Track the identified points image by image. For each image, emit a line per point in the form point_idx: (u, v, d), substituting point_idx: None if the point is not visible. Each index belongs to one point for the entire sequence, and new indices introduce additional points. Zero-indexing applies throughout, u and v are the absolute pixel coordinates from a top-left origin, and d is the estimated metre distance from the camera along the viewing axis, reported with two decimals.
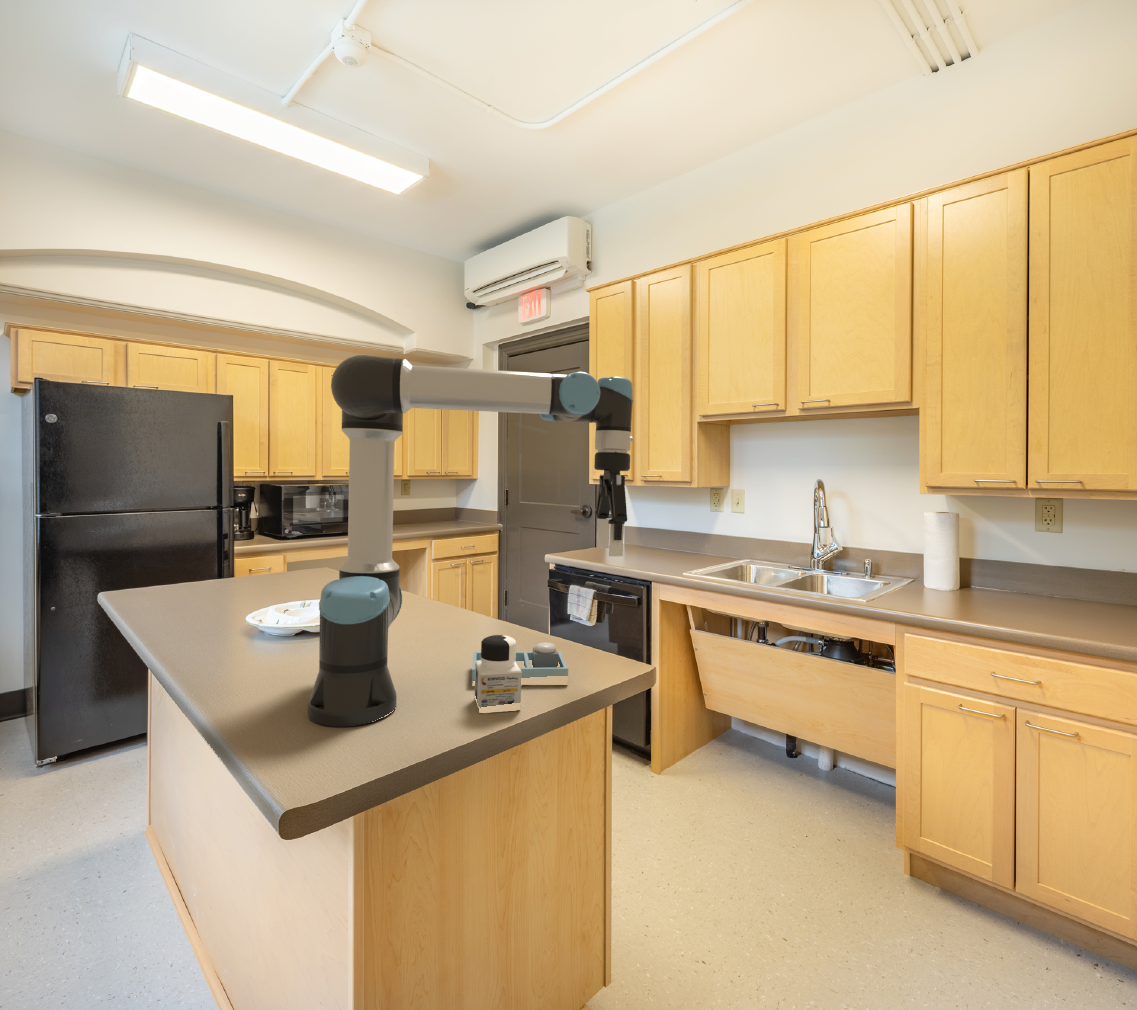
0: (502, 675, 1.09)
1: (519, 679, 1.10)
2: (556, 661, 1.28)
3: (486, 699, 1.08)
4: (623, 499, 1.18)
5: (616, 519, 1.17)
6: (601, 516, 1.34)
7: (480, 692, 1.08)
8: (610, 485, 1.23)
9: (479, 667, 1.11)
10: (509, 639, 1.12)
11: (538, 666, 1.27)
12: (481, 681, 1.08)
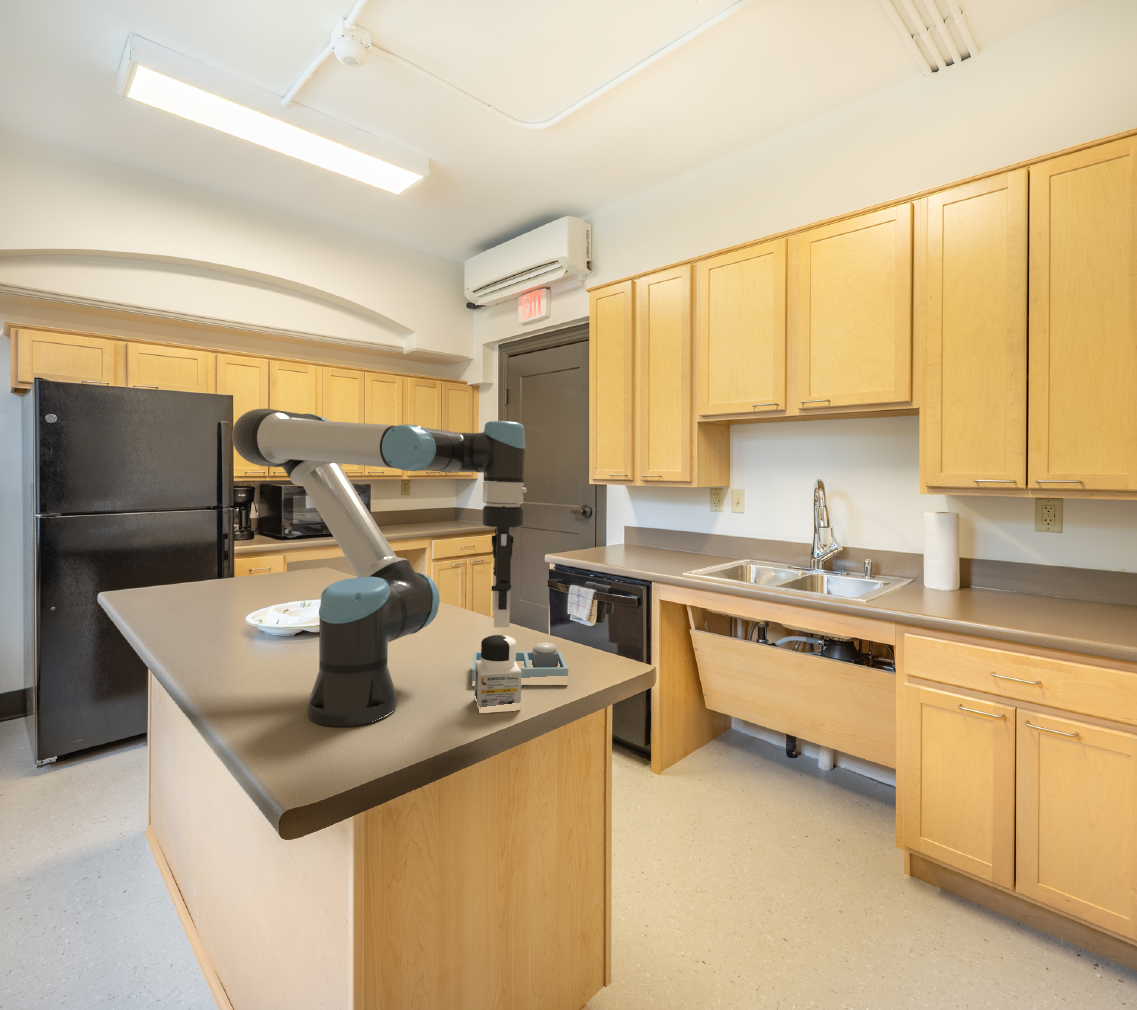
0: (502, 675, 1.09)
1: (519, 679, 1.10)
2: (556, 661, 1.28)
3: (486, 699, 1.08)
4: (507, 563, 1.03)
5: (498, 587, 1.02)
6: None
7: (480, 692, 1.08)
8: None
9: (479, 667, 1.11)
10: (509, 639, 1.12)
11: (538, 666, 1.27)
12: (481, 681, 1.08)
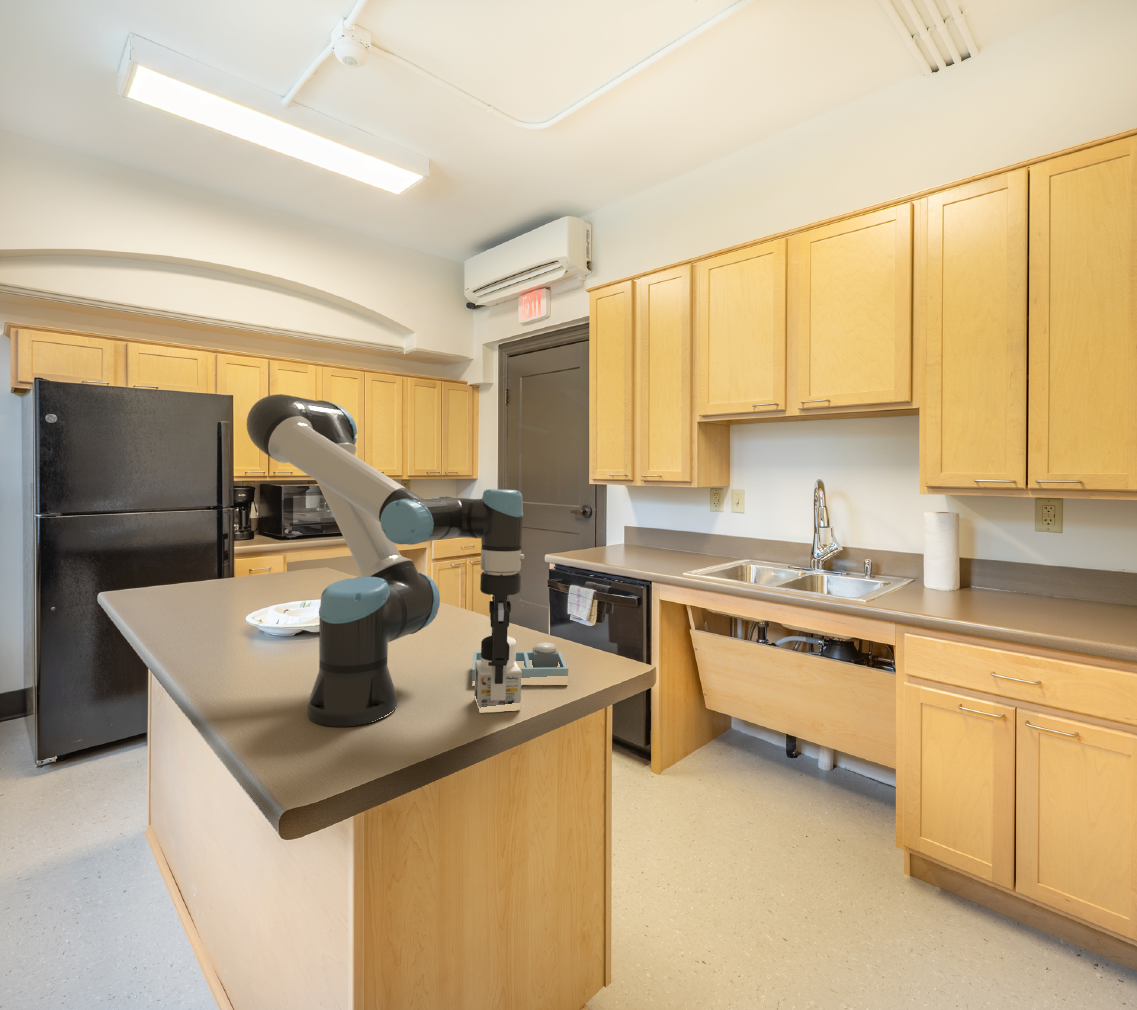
0: None
1: (519, 679, 1.10)
2: (556, 661, 1.28)
3: (486, 699, 1.08)
4: (504, 639, 1.05)
5: (494, 664, 1.05)
6: None
7: (480, 692, 1.08)
8: None
9: (479, 667, 1.11)
10: (509, 638, 1.12)
11: (538, 666, 1.27)
12: (481, 681, 1.08)
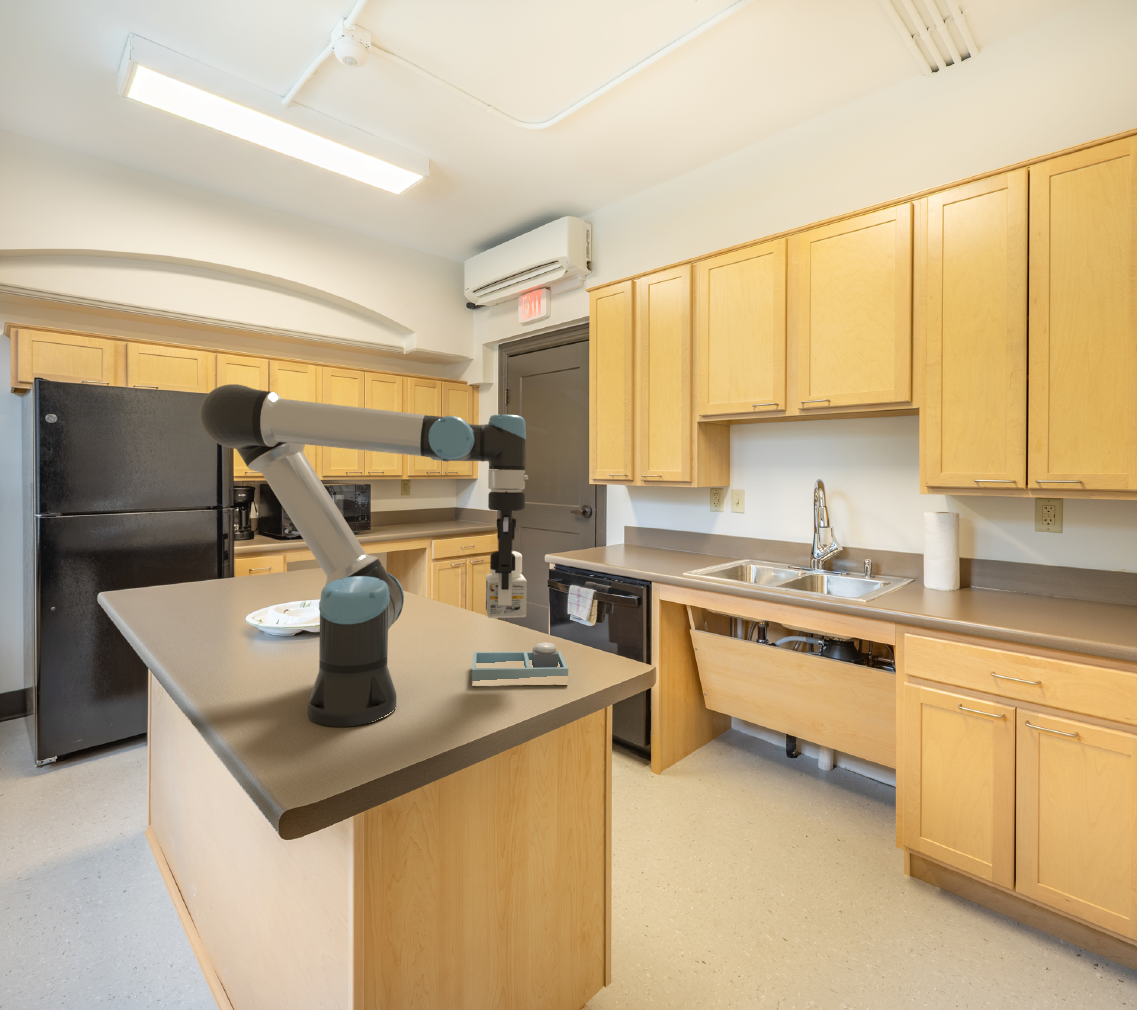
0: None
1: (524, 587, 1.20)
2: (556, 661, 1.28)
3: (494, 604, 1.19)
4: (509, 548, 1.16)
5: (500, 570, 1.16)
6: None
7: (489, 598, 1.19)
8: None
9: (488, 577, 1.22)
10: (516, 552, 1.23)
11: (538, 666, 1.27)
12: (490, 588, 1.19)
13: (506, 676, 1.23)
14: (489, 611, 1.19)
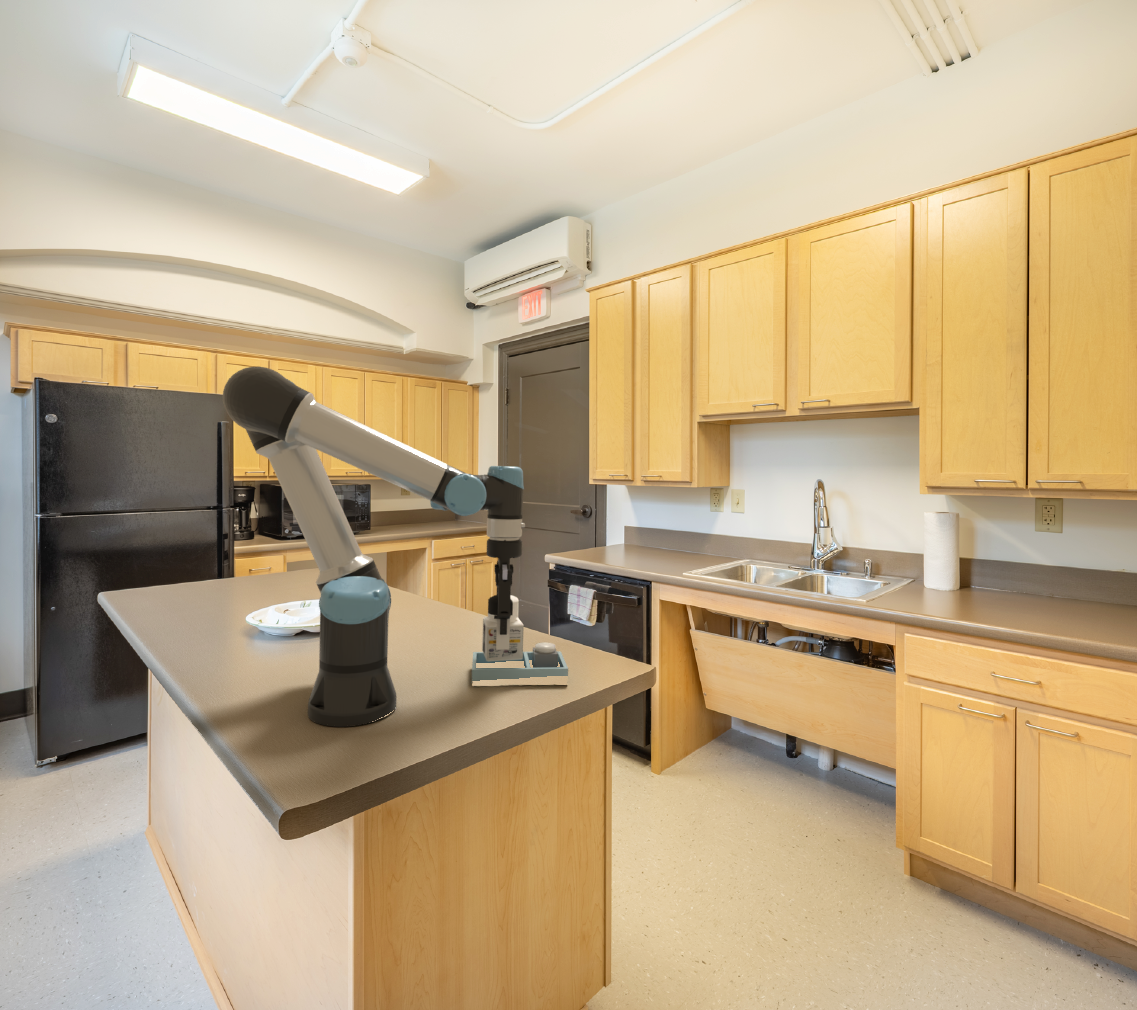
0: None
1: (521, 631, 1.26)
2: (556, 661, 1.28)
3: (492, 648, 1.24)
4: (508, 595, 1.21)
5: (499, 617, 1.20)
6: None
7: (487, 642, 1.24)
8: None
9: (486, 621, 1.27)
10: (513, 597, 1.28)
11: (538, 666, 1.27)
12: (488, 632, 1.24)
13: (506, 676, 1.23)
14: (487, 655, 1.24)
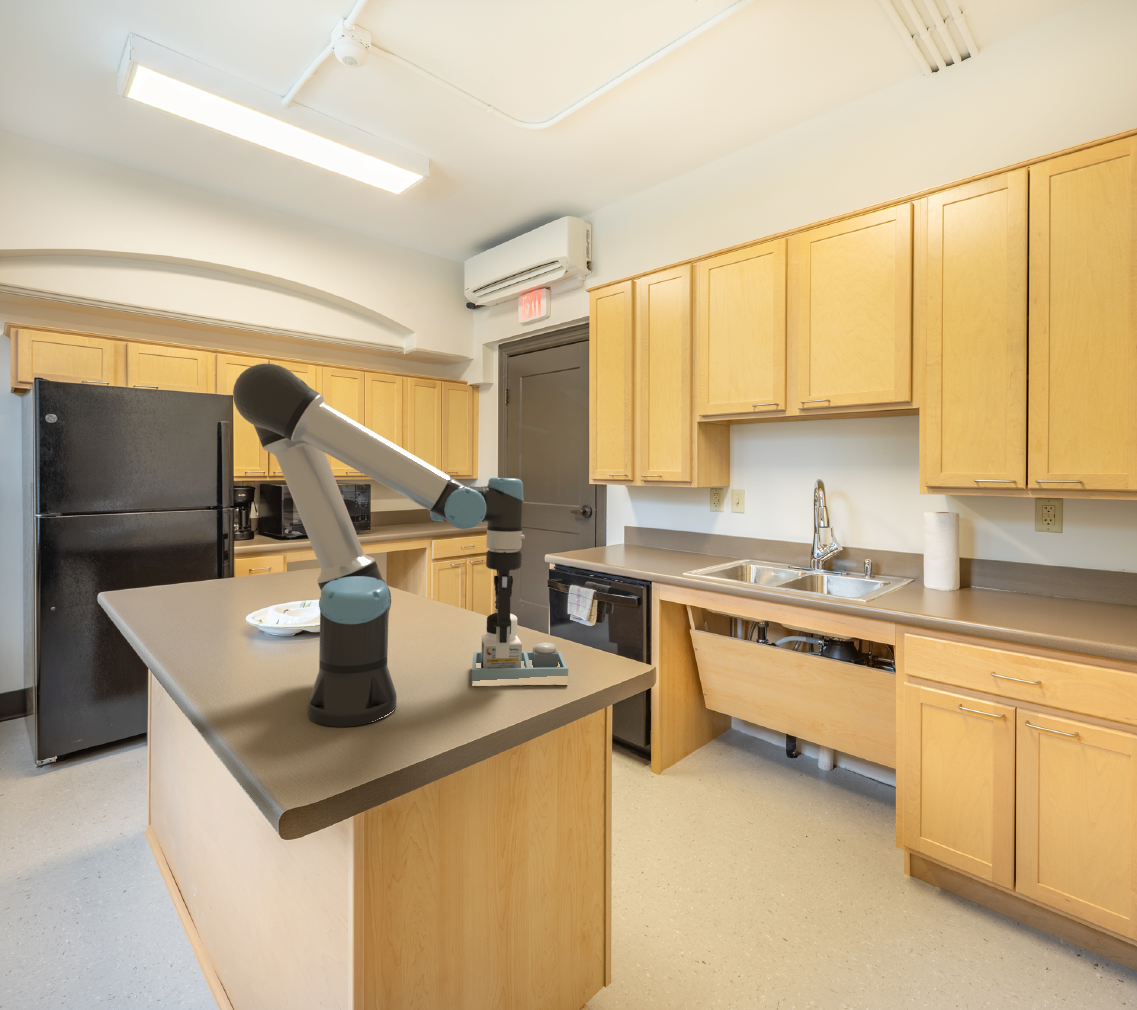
0: None
1: (520, 650, 1.26)
2: (556, 661, 1.28)
3: (491, 667, 1.24)
4: (508, 603, 1.20)
5: (499, 624, 1.18)
6: None
7: (485, 661, 1.24)
8: None
9: (485, 640, 1.27)
10: (511, 615, 1.28)
11: (538, 666, 1.27)
12: (486, 651, 1.24)
13: (506, 676, 1.23)
14: None
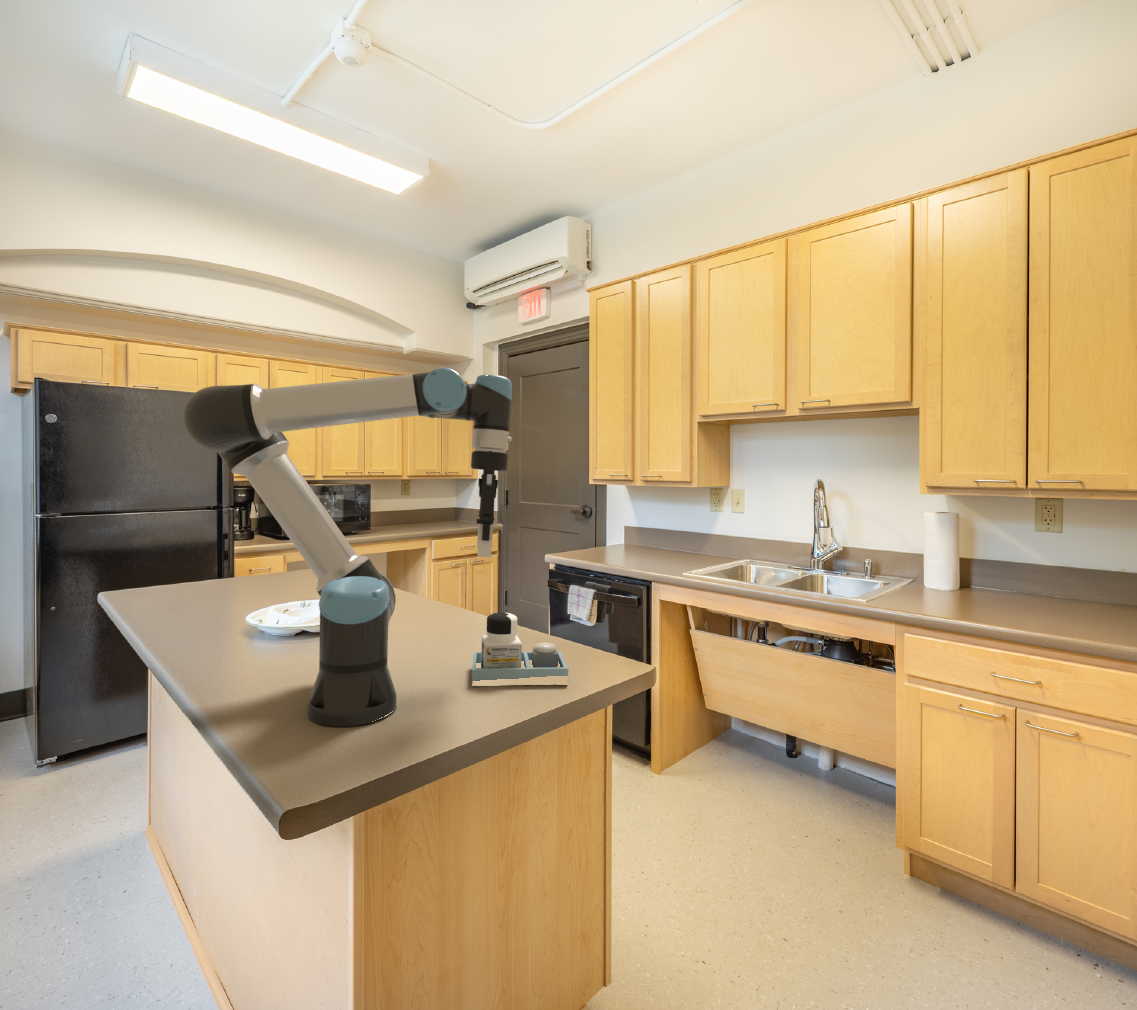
0: (505, 646, 1.25)
1: (520, 650, 1.26)
2: (556, 661, 1.28)
3: (491, 667, 1.24)
4: (492, 499, 1.16)
5: (482, 519, 1.15)
6: None
7: (485, 661, 1.24)
8: None
9: (485, 640, 1.27)
10: (511, 615, 1.28)
11: (538, 666, 1.27)
12: (486, 651, 1.24)
13: (506, 676, 1.23)
14: None
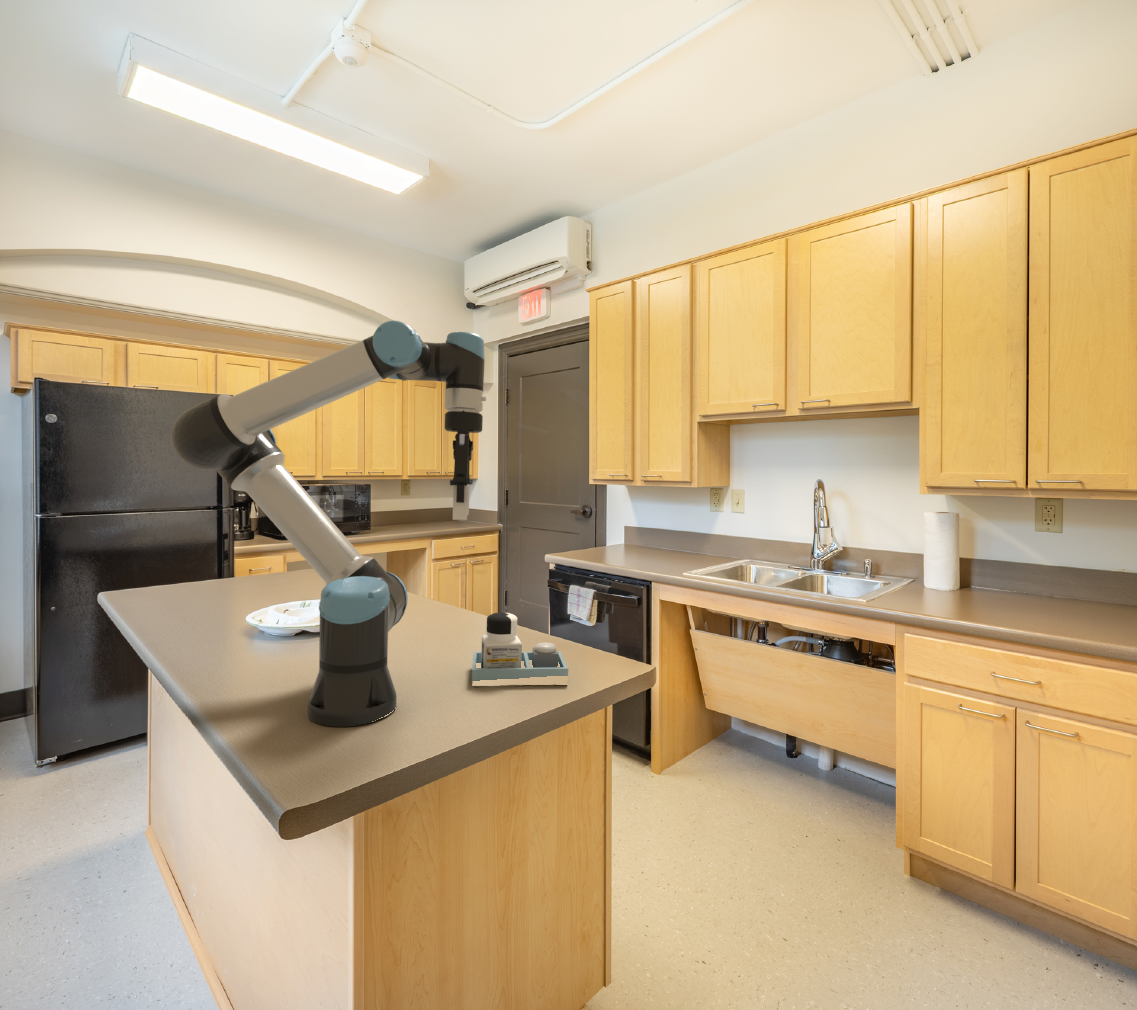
0: (505, 646, 1.25)
1: (520, 650, 1.26)
2: (556, 661, 1.28)
3: (491, 667, 1.24)
4: (465, 459, 1.12)
5: (455, 479, 1.10)
6: None
7: (485, 661, 1.24)
8: None
9: (485, 640, 1.27)
10: (511, 615, 1.28)
11: (538, 666, 1.27)
12: (486, 651, 1.24)
13: (506, 676, 1.23)
14: None
